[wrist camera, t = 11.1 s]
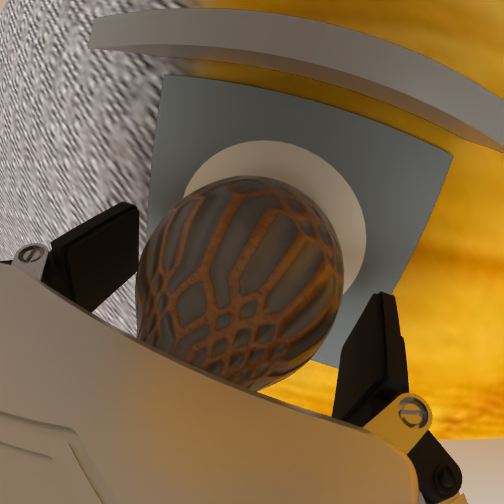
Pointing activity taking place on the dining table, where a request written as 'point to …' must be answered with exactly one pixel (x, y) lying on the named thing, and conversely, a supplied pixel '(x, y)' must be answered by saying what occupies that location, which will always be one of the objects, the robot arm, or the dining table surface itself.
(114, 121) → the dining table surface
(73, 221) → the dining table surface
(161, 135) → the mat
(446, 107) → the low wall
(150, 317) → the vase
